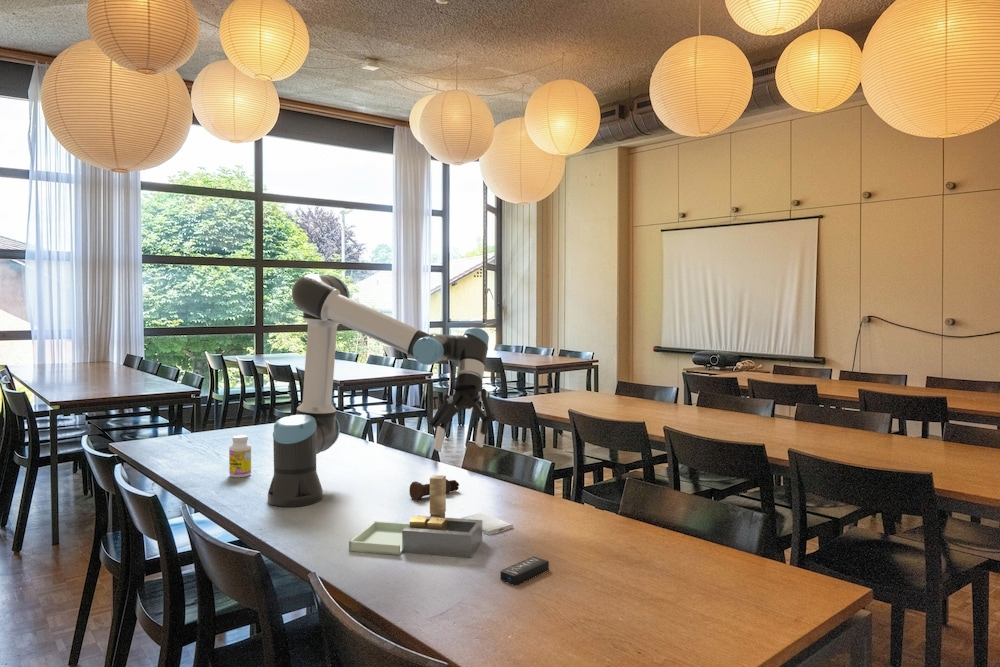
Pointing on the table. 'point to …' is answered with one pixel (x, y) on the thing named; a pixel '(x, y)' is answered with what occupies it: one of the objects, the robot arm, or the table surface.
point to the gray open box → (444, 538)
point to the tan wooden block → (437, 524)
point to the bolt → (422, 490)
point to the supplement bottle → (240, 457)
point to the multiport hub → (524, 570)
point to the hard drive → (490, 523)
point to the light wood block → (418, 522)
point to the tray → (379, 538)
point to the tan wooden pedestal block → (437, 496)
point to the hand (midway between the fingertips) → (457, 447)
